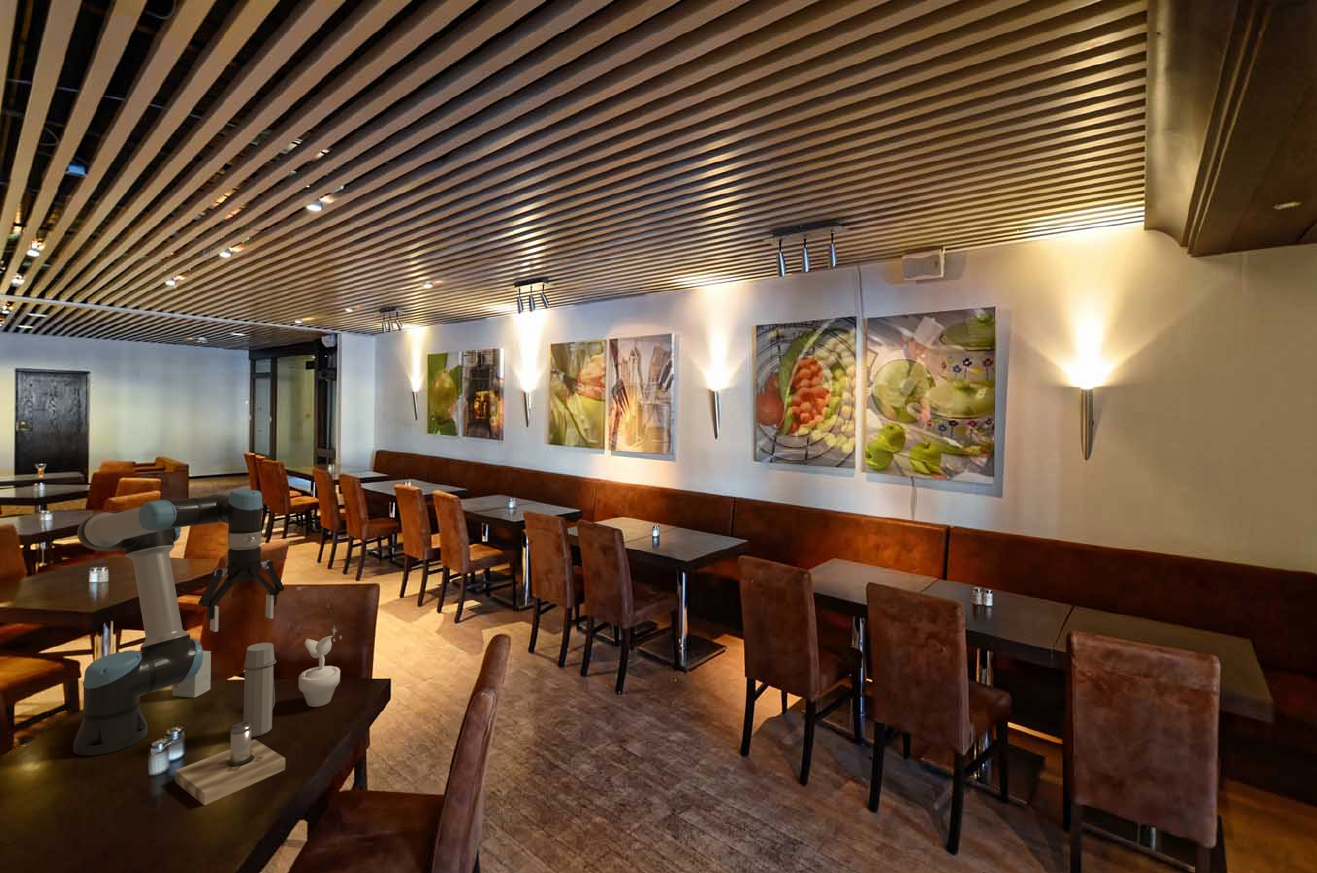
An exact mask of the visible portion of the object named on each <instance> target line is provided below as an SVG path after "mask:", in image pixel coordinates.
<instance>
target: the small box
mask: <svg viewBox="0 0 1317 873" xmlns="http://www.w3.org/2000/svg"><path fill="white" fill-rule="evenodd" d="M211 653H212V651H211V650H209V651H208V650H203V661H202V665H201V668H200V670H199V671H198V673H197V674H196V675H195V676H194V677H193V678H191V679H188V680H186V681H183V682H181V683H180V684H175V685H172V688H171V689H172V690H171V694H172V697H183V698H194V699H195V698H197V697H198V696H201V695H202V694H204V693H206V692H208V691H209V690H211V675H212V674H211V673H212V672H211V668H212V663H211V662H212V660H211V658H212V657H211V656H212V654H211Z"/></svg>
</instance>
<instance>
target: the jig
mask: <svg viewBox="0 0 1317 873" xmlns="http://www.w3.org/2000/svg"><path fill="white" fill-rule="evenodd" d="M285 770H286V758H285V757H284V756H283V755H281V754H280V753H277V752H276V751H274V750H273V749H271V748H269V746H266V745H265V744H263V743H262V742H260V741H258V740H257V739H253V740H252V739H251V762H250V763H248V764H245V765H243V766H240V767H230V749H227V750H224V751H222V752H219V753H217V754H214V755H211V756H209V757H207V758H204V759H201V760H199V761H196V762H193V763H191V764H189V765H187V766H186V765H185V766H183V767H181V768H178V769H176V770H175V778H174V780H175V783H176V784H177V785H178V786H179V787H180V788H182V789H183V790H184V791H186V792H187V793H188V794H189V795H191V796H192V797H193V798H194V799H195V800H197V801H198V802H199V803H201V804H202V805H203V806H206V805H209V804H211V803H213V802H216V801H217V800H220V799H223V798H225V797H227V796H229V795H231V794H233V793H236V792H238V791H240V790H243V789H245V788H247V787H250V786H252V785H254V784H256V783H258V782H261V781H262V780H265V779H268V778H269V777H271V776H274V775H276V774H278V773H280V772H283V771H285Z"/></svg>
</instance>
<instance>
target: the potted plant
mask: <svg viewBox="0 0 1317 873" xmlns="http://www.w3.org/2000/svg"><path fill="white" fill-rule="evenodd" d="M331 631H332V633H333V635H330V636H326V637H323V638H321V639H320V640H319V641H317V640H314V639H309V638H306V640H305V641H304V646H305V648H307V650H308V653H309V655H310V657H312V658H314V659H317V658H318V662H319V663H318V666H316V667H311V668H308V669H305V670H304V671H302V672H301V673H300V674H299V675H298V689H299V691H300V692H301V693H303V696H304V699H305V702H306V705H307V706H309V707H311V708H319V707H321V706H322V707H323V706H325V705H327V704H329V703H330V702H331V700H332V698H333V695H334V693H335V690H336V687H337V686H338V685H339V684H340V682H341V669H340V667H337V666H333V665H325V662H326V661H325V658H326V657H325V656H326V655H328V653H329V652H330V651H331V649H332V645H333V644H332V641H333V642H336V639H335V638H333V639H332V637H334V635H335V634H336V632H337V629H336V626H335V624H334V625H333V629H331ZM342 638H343V636H342V635H341V634H340V636H339V640H342Z"/></svg>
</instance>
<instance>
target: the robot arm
mask: <svg viewBox="0 0 1317 873" xmlns="http://www.w3.org/2000/svg"><path fill="white" fill-rule="evenodd" d="M263 507H264V504H263V494H262V492H261V491H260V490H255V489H253V490H252V489H240V490H239V489H238V490H233V491H231V492H230V493H229V495H227V494H223V493H222V494H221V493H218V494H217V493H216V494H214V493H211V494H208V495H205V496H196V497H190V498H189V497H187V498H177V499H176V498H175V499H158V500H153V501H147V502H145V503H143V504H142V506H139V507H135V508H131V509H122V510H112V511H111V510H110V511H104V512H103V511H102V512H100V513H96V514H93V515H90V516H88V517H87V518H85V519H84V520H83V521H82V522H80V524H79V525H78V528H77V532H76V534H77V538H78V541H79V542H80V543H81V544H82V545H83V546H84V547H86V548H88V549H91V550H94V551H98V552H99V551H101V552H112V551H114V552H115V551H120V550H123V552H124V556H125V557H126V558H128V559H130V560H131V561H132V563H133V569H134V577H135V583H136V588H137V593H138V599H139V606H140V612H141V617H142V624H143V629H144V635H145V636H144V637H145V640H144V642H143V643H142V644H141V646H139V647H140V651H138V650H135V649H132V650H131V649H130V650H124V651H116V652H113V653H110V654H107V655H104V656H102V657H100V658H98V659H96V660H94V661H92V662H91V663H89V665H88V666H86V668H85V670H84V678H83V682H82V687H83V706H82V707H83V713H82V714H83V716H82V722H81V724H80V726H79V727H78V728H79V729H78V731H77V734H76V736H75V738H74V740H73V753H74V754H75V755H79V756H98V755H99V756H100V755H105V754H110V753H114V752H117V751H120V750H121V751H122V750H123V749H126V748H129V747H131V746H133V745H136V744H137V743H139V742H141V741H142V740H143V739H145V737H147V734H148V723H147V721H146V719H145V716H144V714H143V712H142V710H141V707H140V704H141V696H145V695H147V694H150V693H153V692H155V691H156V692H157V691H159V690H162V689H165V688H168V687H169V688H170V687H171V686H172V685H175V684H180V683H181V682H183V681H186V680H188V679H191V678H193V677H194V676H195V675H196V674H197V673H198V671H199V670H200V668H201V665H202V661H203V651H204V649H203V646H202V644H201V642H200V641H199V640H198V639H196V638H192V637H191V633H190V632H188V631H186V630H184V629H183V623H182V619H181V614H180V607H179V602H178V596H177V591H176V589H177V588H176V585H175V584H176V583H175V579H174V574H173V572H174V571H173V567H172V560H171V556H170V553H171V551H172V550H173V549H174V548H175V543H176V542H178V540H179V539H180V537H181V531H182V528H185V527H193V526H202V525H203V526H204V525H211V524H217V523H219V524H220V523H222V524H223V523H224V524H227V525H228V528H227V530H228V535H227V536H228V537H227V547H228V549H227V565H226V568H219V567H214V569H213V571H212V572H213V573H212V577H211V578H210V580H209V582H208V584H207V586H206V588H205V589H204V592H203V593H202V595H201V597H200V599H198V603H197V605H199V606H201V607H204V608H205V607H206V619H207V620H210V624H209V625H210V626H209V630H210V631H212V632H214V633H216V632H219V611H220V609H219V608H220V607H219V606H217V605H218V603H219V602H220V601H221V600H222V598H223V597H224V596H225V595H226V594H227V593H228V592H229V590H230V589H231V588H232V586H234V585H236V583H243V582H246V581H248V582H249V581H252V580H253V579H254V580H255V581H256V582H257V583H258V584H260V586H262V587H263V588H264V589H265V590H266V592H268V593H266V594H265V618H267V619H270V620H271V619H274V606H277V602H278V595H279V594H280V592H283V591H284V590H285V586H284V584H283V583H282V581H281V579H280V578H279V575H278V574H277V572H276V571H275V568H274V562H273V560H269V559H265V560H264V561H261V559H262V558H261V557H262V547H261V546H260V545H261V544H262V525H263V522H262V521H263ZM261 569H264V570H265V572H266V573H267V575H268V577H269V579H270V580H271V583H272V584H273V585H272V584H271V583H270V582H269V581H268V580H266V579H265V578H264V576H263V575H262V574H260V573H259V572H260V571H261ZM226 574H227V575H228V576H227V577H225V579H223V580H224V581H223V583H222V584H221V585H220V583H221V581H222V578H223V577H224V576H225V575H226ZM219 585H220V586H219ZM218 586H219V587H218ZM217 588H218V589H217Z"/></svg>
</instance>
